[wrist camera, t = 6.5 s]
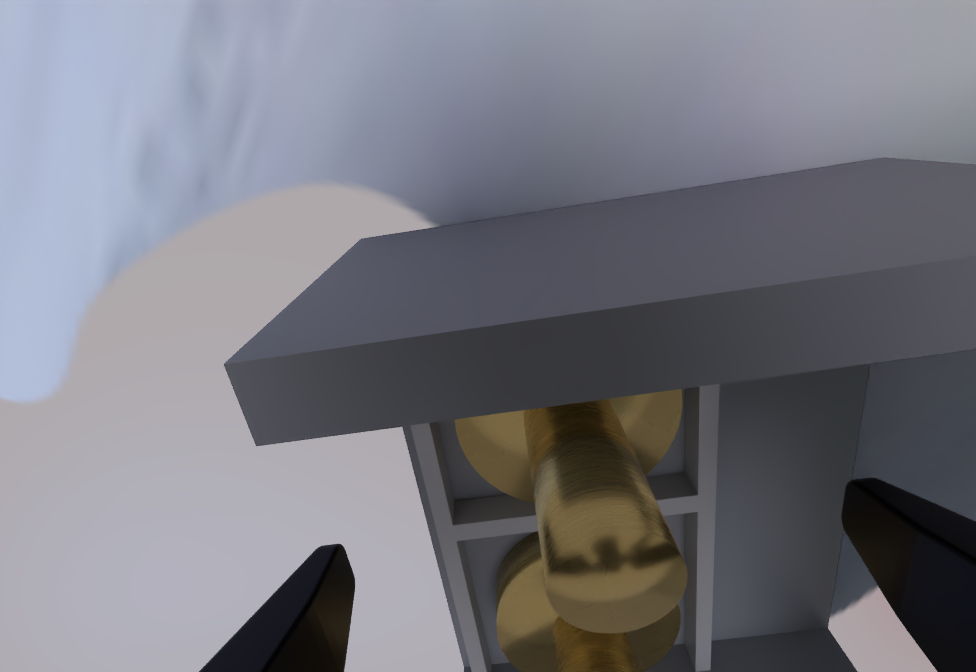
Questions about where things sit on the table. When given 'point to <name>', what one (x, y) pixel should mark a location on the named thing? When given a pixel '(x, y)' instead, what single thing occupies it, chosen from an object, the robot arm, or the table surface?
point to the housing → (645, 373)
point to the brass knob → (565, 626)
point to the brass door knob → (591, 502)
